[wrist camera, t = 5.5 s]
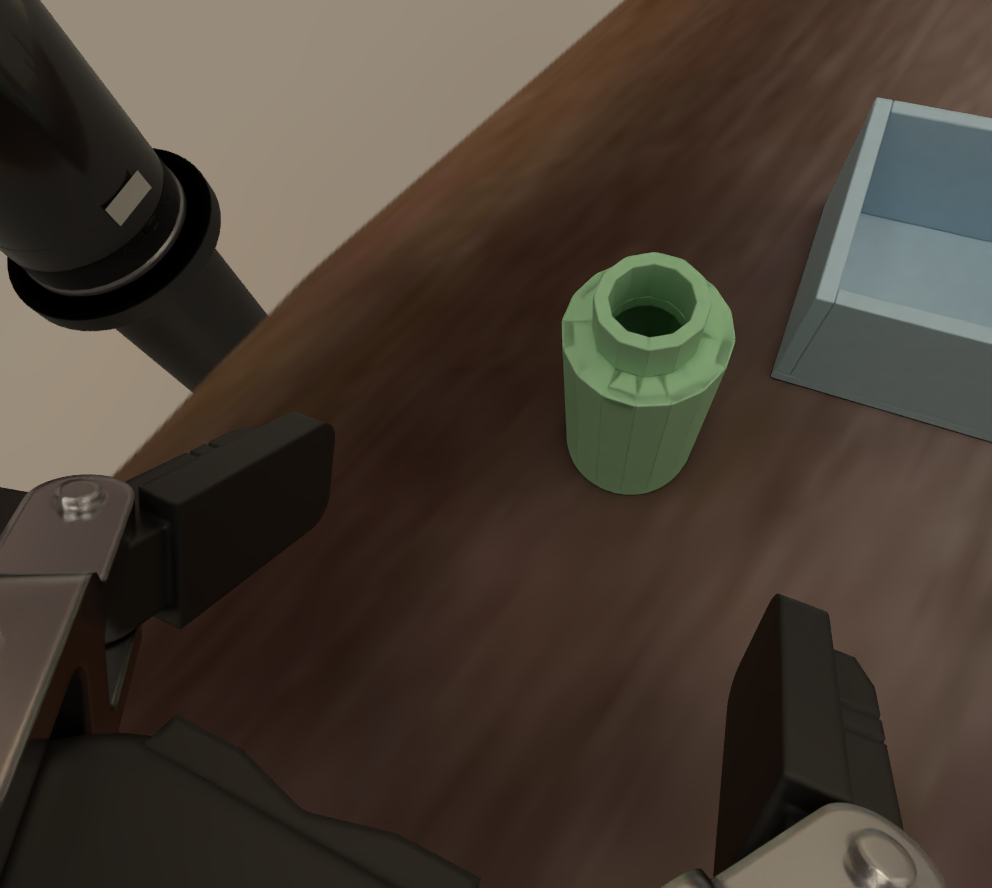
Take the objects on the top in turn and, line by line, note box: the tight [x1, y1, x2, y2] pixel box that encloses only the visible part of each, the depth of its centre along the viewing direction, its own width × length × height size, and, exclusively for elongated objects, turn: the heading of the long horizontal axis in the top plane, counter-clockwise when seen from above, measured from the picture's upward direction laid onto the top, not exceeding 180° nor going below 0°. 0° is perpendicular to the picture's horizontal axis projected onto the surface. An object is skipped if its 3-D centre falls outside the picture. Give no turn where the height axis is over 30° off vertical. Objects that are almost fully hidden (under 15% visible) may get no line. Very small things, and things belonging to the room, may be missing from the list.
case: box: [771, 98, 992, 442], centre depth 24 cm, size 9×9×6 cm
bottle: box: [562, 252, 735, 495], centre depth 22 cm, size 5×5×10 cm
